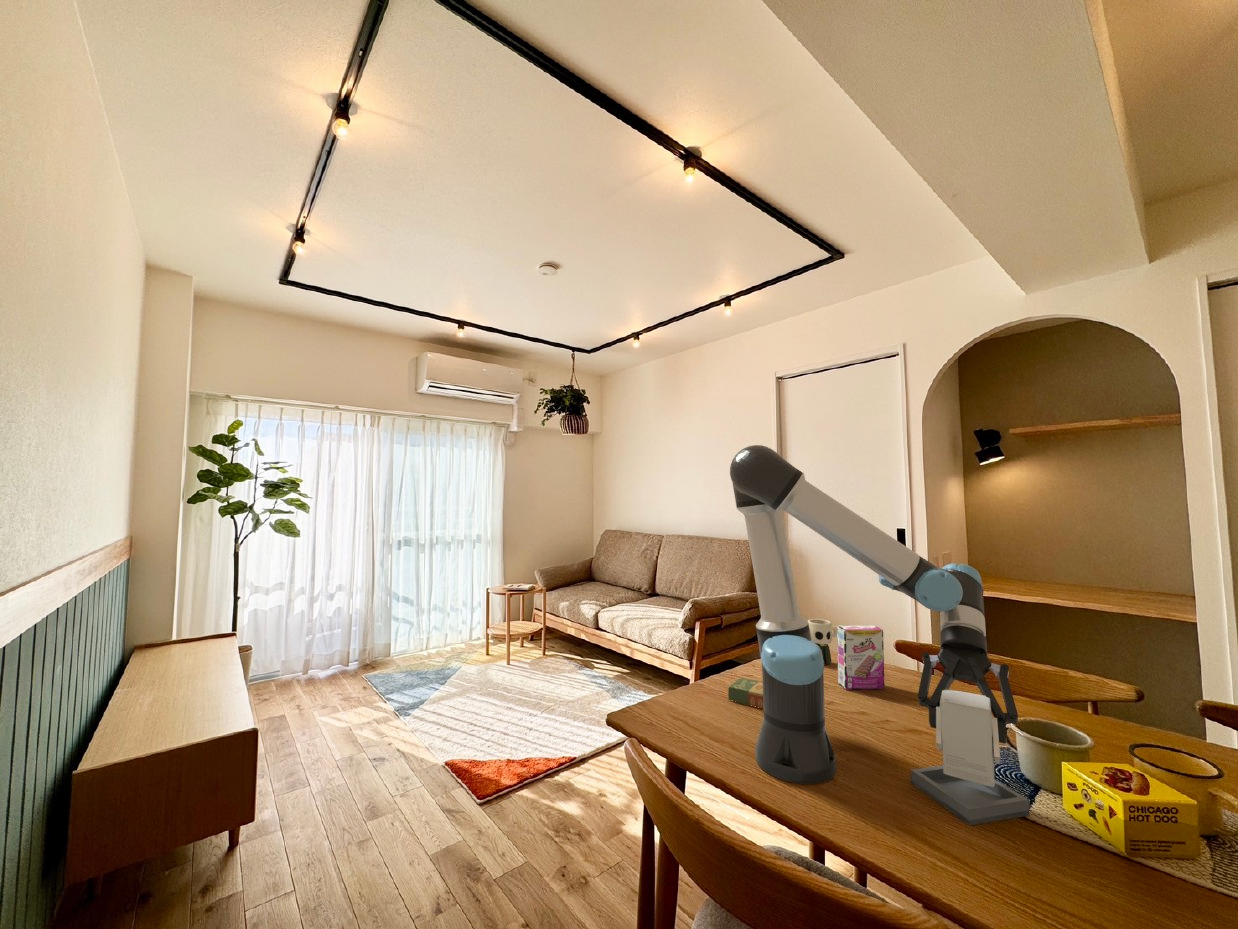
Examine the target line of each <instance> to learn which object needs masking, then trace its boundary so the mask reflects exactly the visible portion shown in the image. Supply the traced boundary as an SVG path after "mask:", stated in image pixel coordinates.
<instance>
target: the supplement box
mask: <svg viewBox="0 0 1238 929" xmlns="http://www.w3.org/2000/svg"><path fill="white" fill-rule="evenodd" d="M940 715H941V734H942V751H941V752H942V765H943V773H944V774H946V775H950V776H953V777H957V778H960V779H964V780H968V781H971V782H975V783H979V784H983V785H986V786H990V787H994V786H995V784H994V779H995V760H994V746H993V732H992V717H993V714H992V712H991V703H990V698H988V697H986V696H984V695H982V694H978V693H972V692H965V691H961V690H954V689H950V688H949V689H945V690H942V694H941V699H940Z"/></svg>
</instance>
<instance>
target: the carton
mask: <svg viewBox="0 0 1238 929" xmlns="http://www.w3.org/2000/svg"><path fill="white" fill-rule="evenodd" d="M727 693H728V695H727V696H728V701H729V700H733V701H736V702H739V703H738V704H740V703H743V704H742V705H744V704H746V705H745V706H748V705H752V706H756V707H759V708H758V709H760V708H762V709H761V710H764V709H763V681H759V680H755V679H748V678H746V677H745V678H744V677H742V676H741V677H740V678H738V679H737V680H736V681H735V682H733V683H731V684H730V685H729V686H728V692H727ZM736 702H735V703H736ZM752 706H751V707H752ZM756 707H755V708H756Z"/></svg>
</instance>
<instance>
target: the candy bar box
mask: <svg viewBox="0 0 1238 929" xmlns="http://www.w3.org/2000/svg"><path fill="white" fill-rule="evenodd" d="M836 631H837V636H836V639H837V640H836V642H837V683H838V685H839V684H840V685H839V686H841V687H842V688H843V689H844V690H849V691H850V690H856V691H857V690H859V689H861V690H885V661H884V660H885V657H884V656H885V654H884V653H885V652H884V650H885V649H884V630H883V629H882V628H881V627H878V626H876V625H872V624H870V625H869V624H868V625H866V624H865V625H864V624H863V625H854V624H853V625H849V624H848V625H847V624H846V625H844V624H843V625H841V624H840V625H836ZM859 691H860V690H859Z"/></svg>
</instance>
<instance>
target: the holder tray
mask: <svg viewBox="0 0 1238 929" xmlns="http://www.w3.org/2000/svg"><path fill="white" fill-rule="evenodd" d="M910 780H911V781H910V782H911V783H910V784H911V785H912V786H913V787H915V788H917V789H918V790H920V791H921V792H922V793H924V794H925V795H926V796H928V797H929V798H931V800H933V801H934V802H936V803H937V804H939V805H940V806H941V807H943V808H945V809H946V811H947V810H948V811H949V813H951V814H952V815H954V816H955V817H957V818H958V819H959V820H961V821H963V823H965V824H966V825H969V826H976V825H981V824H982V825H983V824H987V823H994V822H998V821H1004V820H1010V819H1016V818H1023V817H1029V816H1031V813H1030V812H1031V809H1030V799H1028V798H1027V797H1025V796H1023V795H1022V794H1020V793H1018V792H1017V791H1015V790H1014V789H1013V788H1010V787H1008V786H1007V785H1005V784H1003V783H1002V782H1000V781H998V780H996V779H995V778H994V784H995V786H994V787H990V786H986V785H983V784H979V783H975V782H971V781H968V780H964V779H960V778H957V777H953V776H950V775H946V774H944V773H943V764H941V765H937V766H936V765H935V766H934V765H933V766H928V767H922V768H921V767H920V768H915V769H913V768H911V769H910Z"/></svg>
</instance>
